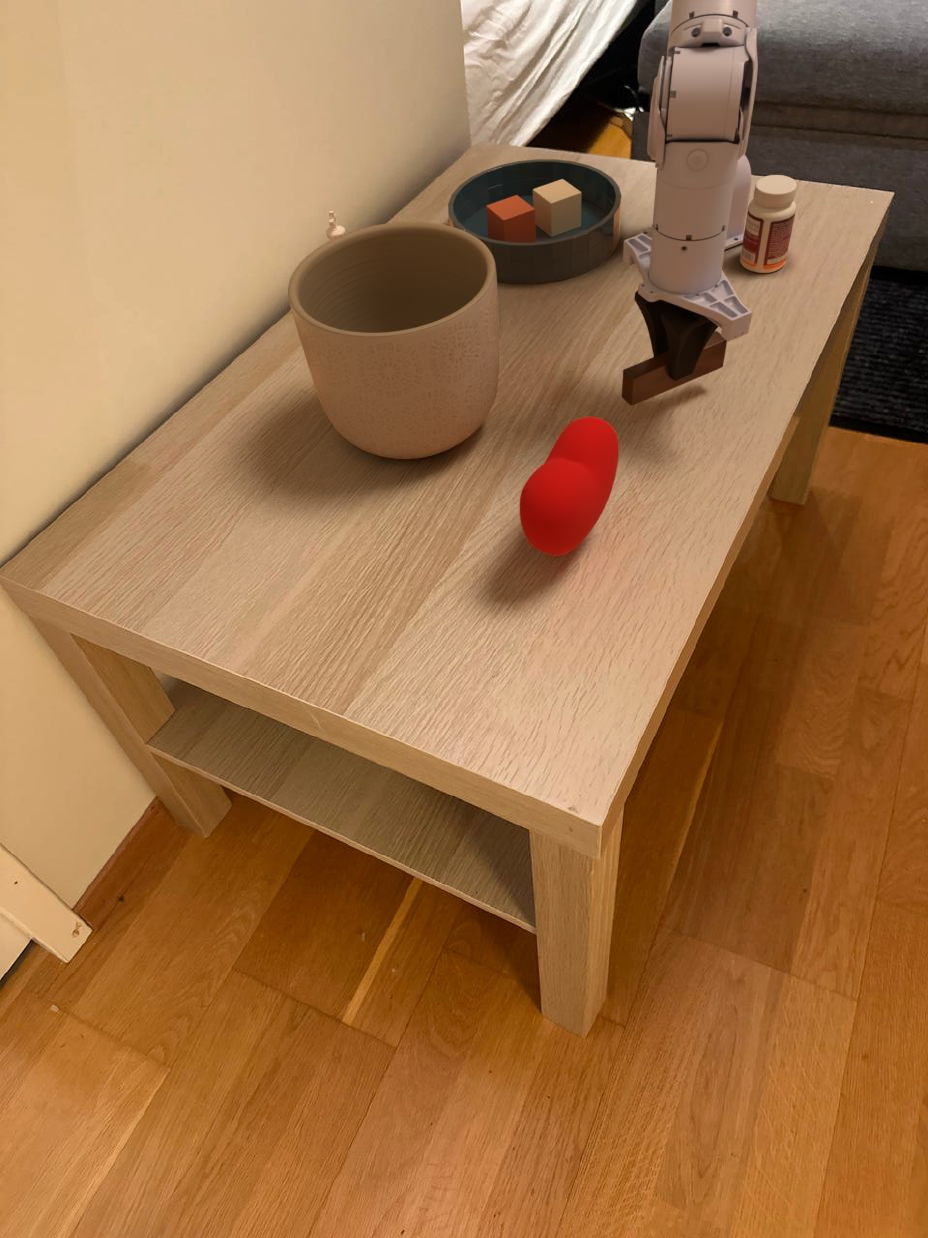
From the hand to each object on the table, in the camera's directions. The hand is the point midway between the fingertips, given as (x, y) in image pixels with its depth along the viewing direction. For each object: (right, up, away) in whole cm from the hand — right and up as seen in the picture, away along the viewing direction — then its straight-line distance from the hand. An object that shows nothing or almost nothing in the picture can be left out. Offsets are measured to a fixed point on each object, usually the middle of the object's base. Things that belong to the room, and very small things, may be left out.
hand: (673, 368), depth 80 cm
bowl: (-11, +22, +23) cm, 34 cm away
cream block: (-8, +23, +24) cm, 34 cm away
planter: (-23, -4, +5) cm, 24 cm away
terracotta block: (-13, +21, +22) cm, 33 cm away
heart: (-10, -16, -7) cm, 20 cm away
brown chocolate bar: (0, -1, +1) cm, 1 cm away
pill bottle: (+13, +16, +16) cm, 26 cm away
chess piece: (-31, +13, +19) cm, 39 cm away
